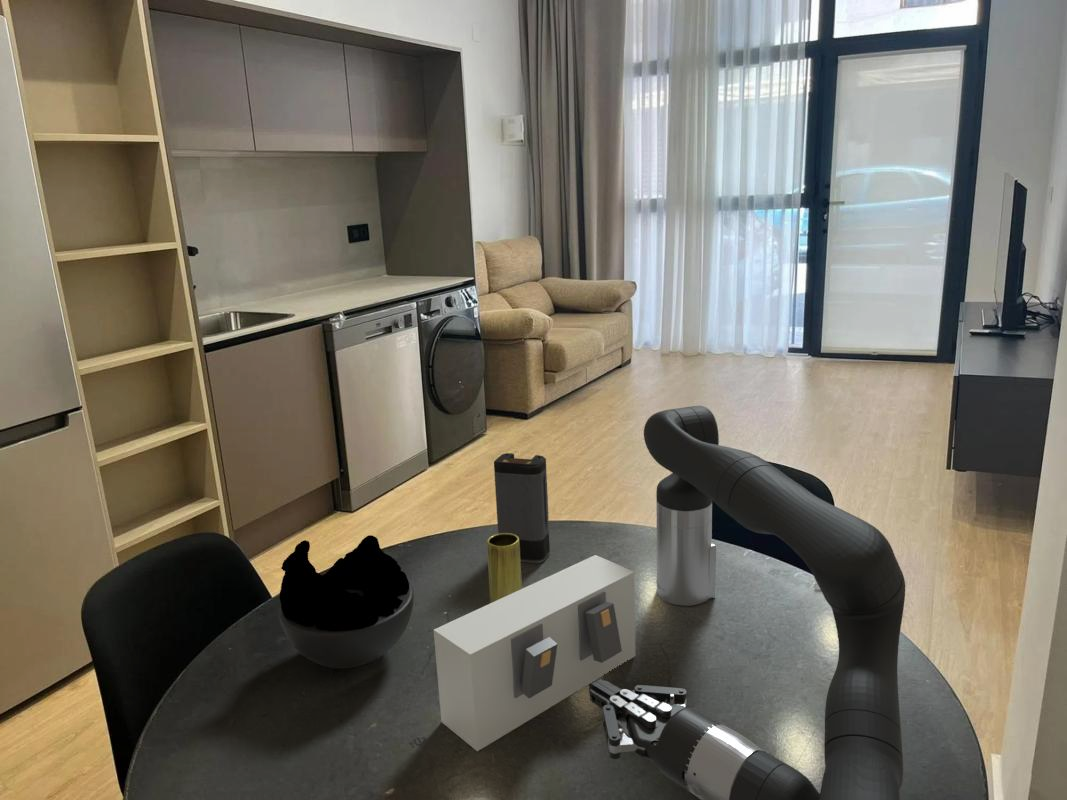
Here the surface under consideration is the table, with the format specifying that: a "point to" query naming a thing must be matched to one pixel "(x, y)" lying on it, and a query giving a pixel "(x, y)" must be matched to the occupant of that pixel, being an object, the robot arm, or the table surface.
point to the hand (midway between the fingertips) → (593, 687)
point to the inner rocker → (603, 632)
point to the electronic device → (523, 504)
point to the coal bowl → (345, 605)
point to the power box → (513, 626)
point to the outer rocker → (539, 667)
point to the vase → (503, 565)
